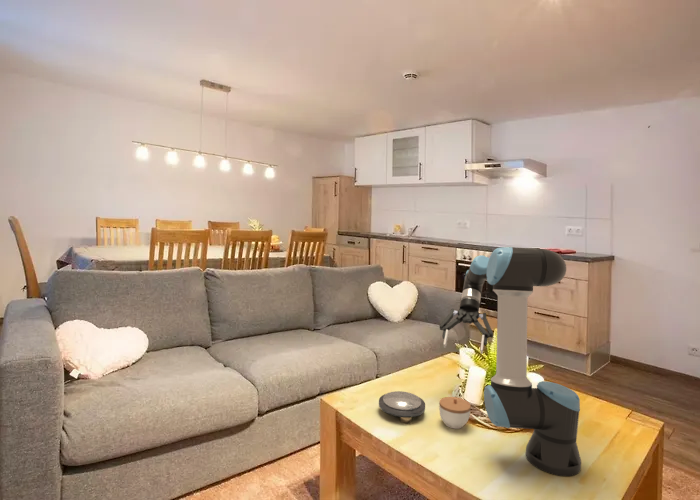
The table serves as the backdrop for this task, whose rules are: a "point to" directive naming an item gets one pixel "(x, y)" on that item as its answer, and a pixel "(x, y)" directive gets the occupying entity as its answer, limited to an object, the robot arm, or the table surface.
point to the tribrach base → (402, 405)
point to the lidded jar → (454, 411)
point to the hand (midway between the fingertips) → (462, 348)
